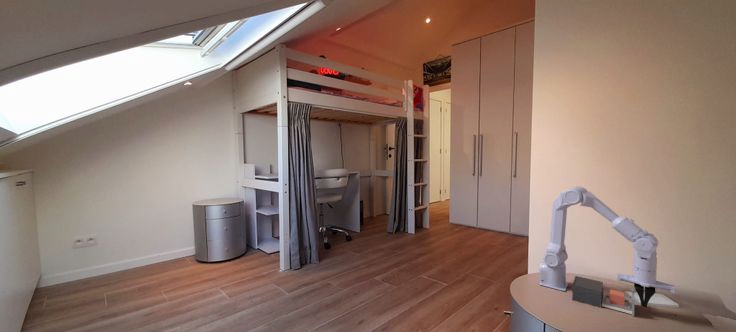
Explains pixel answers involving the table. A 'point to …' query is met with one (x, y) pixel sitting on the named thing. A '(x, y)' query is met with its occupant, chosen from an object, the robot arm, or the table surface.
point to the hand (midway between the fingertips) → (643, 305)
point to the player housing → (587, 291)
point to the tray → (627, 306)
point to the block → (617, 297)
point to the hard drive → (654, 300)
